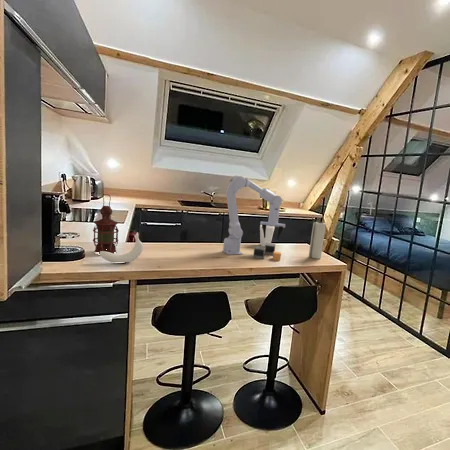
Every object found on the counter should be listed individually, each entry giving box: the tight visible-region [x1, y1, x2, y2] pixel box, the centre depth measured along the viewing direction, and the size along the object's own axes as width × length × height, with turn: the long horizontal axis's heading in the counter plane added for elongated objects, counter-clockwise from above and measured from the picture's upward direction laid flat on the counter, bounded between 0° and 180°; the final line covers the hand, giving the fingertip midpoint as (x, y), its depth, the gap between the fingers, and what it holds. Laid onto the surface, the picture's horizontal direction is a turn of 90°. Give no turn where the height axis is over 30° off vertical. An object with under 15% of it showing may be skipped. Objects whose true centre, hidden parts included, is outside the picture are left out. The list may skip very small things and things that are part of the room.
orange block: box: [272, 250, 282, 262], centre depth 170 cm, size 4×4×4 cm
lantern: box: [92, 193, 120, 253], centre depth 152 cm, size 12×12×30 cm
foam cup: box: [259, 225, 276, 247], centre depth 200 cm, size 10×9×13 cm
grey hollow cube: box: [252, 245, 265, 260], centre depth 172 cm, size 6×6×6 cm
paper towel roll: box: [308, 221, 327, 260], centre depth 180 cm, size 7×6×21 cm
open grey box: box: [264, 243, 276, 256], centre depth 181 cm, size 6×6×6 cm
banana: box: [99, 231, 144, 263], centre depth 140 cm, size 5×19×15 cm, turn 110°
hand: (271, 238), depth 180 cm, fingers open, 7 cm apart
